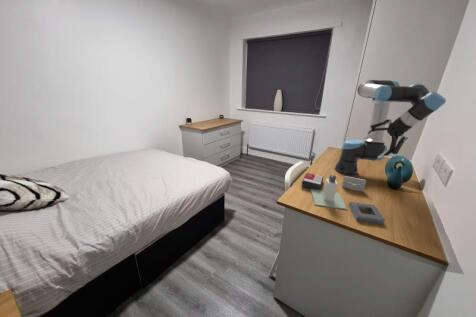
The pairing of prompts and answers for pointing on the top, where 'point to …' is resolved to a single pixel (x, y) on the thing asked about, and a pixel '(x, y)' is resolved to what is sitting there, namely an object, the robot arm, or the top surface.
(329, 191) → the plug
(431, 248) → the top surface
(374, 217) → the socket
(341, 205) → the mat
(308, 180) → the calculator
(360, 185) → the cassette
